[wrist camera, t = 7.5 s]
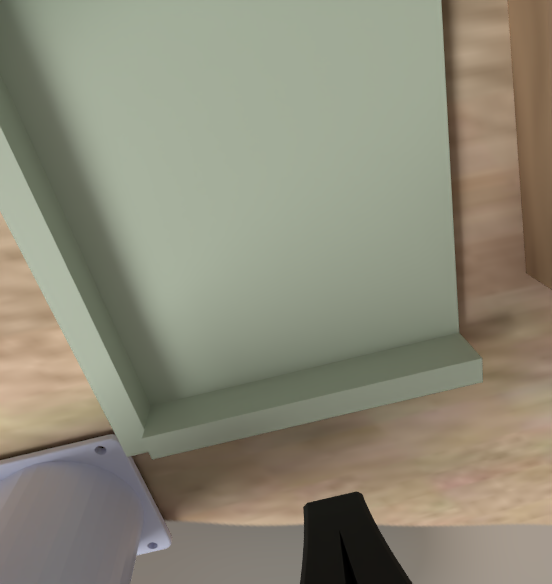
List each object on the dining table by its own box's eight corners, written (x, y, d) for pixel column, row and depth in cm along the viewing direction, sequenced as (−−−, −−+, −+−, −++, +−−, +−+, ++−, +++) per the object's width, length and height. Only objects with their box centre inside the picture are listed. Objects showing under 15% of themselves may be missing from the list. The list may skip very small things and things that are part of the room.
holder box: (136, 424, 21) (124, 466, 18) (-85, -35, 13) (-153, -60, 11) (455, 349, 20) (482, 382, 18) (424, -171, 12) (465, -227, 10)
